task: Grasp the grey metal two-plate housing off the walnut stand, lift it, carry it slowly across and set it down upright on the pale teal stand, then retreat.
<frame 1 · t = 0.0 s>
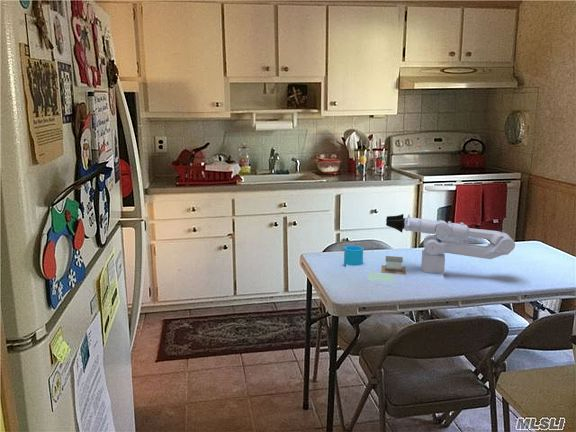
hand: (386, 220, 217), 22 cm above the table, tool horizontal, fingers open, 7 cm apart
stand b: (380, 280, 208), on the table
mug: (351, 265, 229), on the table
housing: (393, 269, 217), point 1 cm above the table, touching stand a
stand a: (393, 273, 218), on the table
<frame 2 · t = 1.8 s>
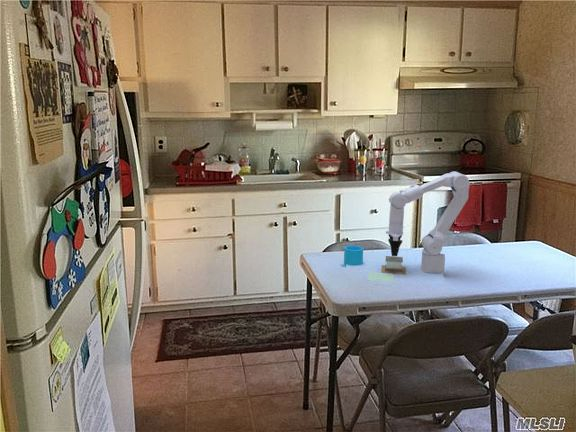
hand: (394, 253, 216), 9 cm above the table, tool pointing down, fingers open, 7 cm apart
nothing on the table moved.
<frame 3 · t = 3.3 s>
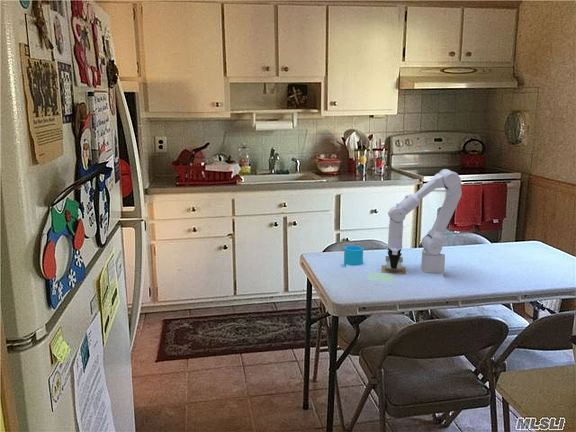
hand: (393, 266, 217), 3 cm above the table, tool pointing down, fingers closed on housing, 4 cm apart
housing: (393, 269, 217), point 1 cm above the table, touching gripper, stand a
everything else where it was.
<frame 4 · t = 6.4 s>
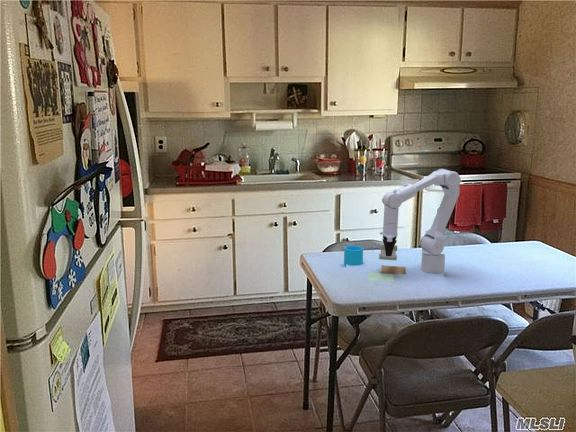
hand: (388, 254, 211), 9 cm above the table, tool pointing down, fingers closed on housing, 4 cm apart
housing: (387, 258, 212), point 8 cm above the table, touching gripper
everything else where it was.
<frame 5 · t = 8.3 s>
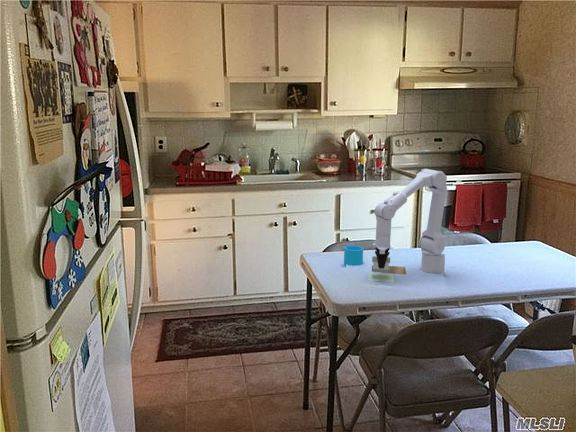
hand: (381, 266, 207), 6 cm above the table, tool pointing down, fingers closed on housing, 4 cm apart
housing: (380, 270, 207), point 4 cm above the table, touching gripper
everything else where it was.
when the fingers open (4 cm above the table, at t = 9.6 s): housing stays where it is, resting on stand b.
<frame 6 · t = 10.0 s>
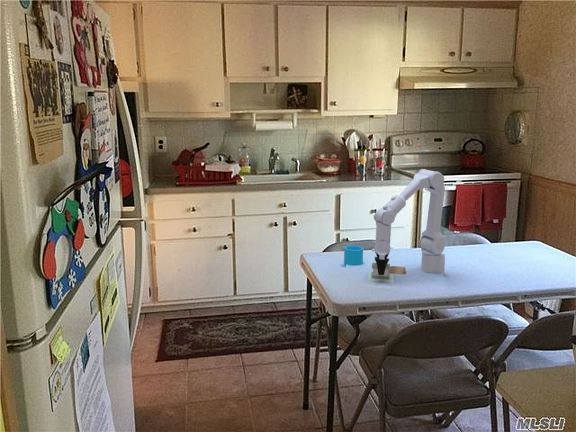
hand: (381, 271, 207), 4 cm above the table, tool pointing down, fingers open, 7 cm apart
housing: (380, 277, 208), point 1 cm above the table, touching stand b
everything else where it was.
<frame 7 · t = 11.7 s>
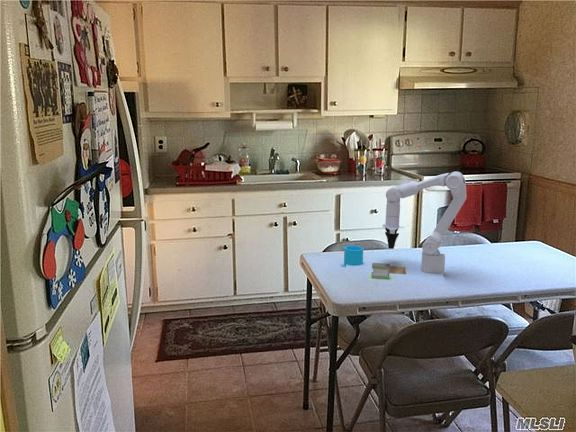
hand: (390, 246, 222), 10 cm above the table, tool pointing down, fingers open, 7 cm apart
nothing on the table moved.
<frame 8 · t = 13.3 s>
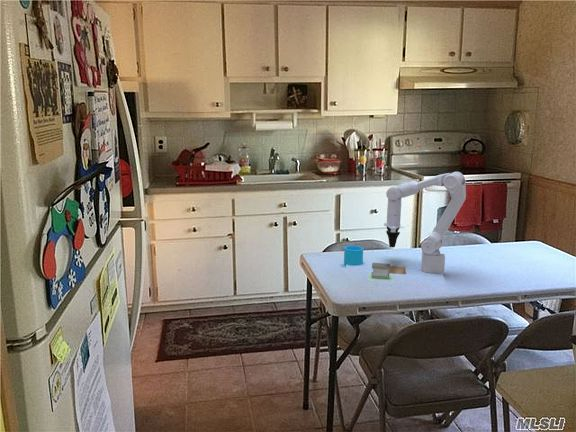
hand: (392, 244, 224), 10 cm above the table, tool pointing down, fingers open, 7 cm apart
nothing on the table moved.
at the end: housing inside the target area on the stand b (0.2 cm from its centre), point 1.5 cm above the stand b's base; housing tilted 0°; the gripper is holding nothing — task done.
